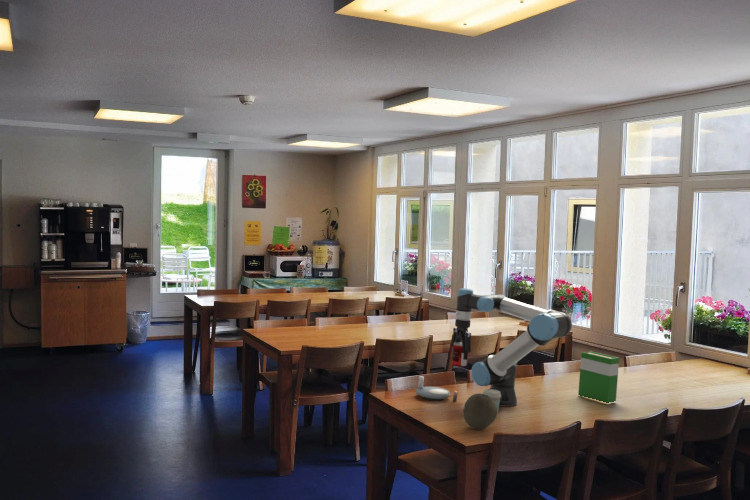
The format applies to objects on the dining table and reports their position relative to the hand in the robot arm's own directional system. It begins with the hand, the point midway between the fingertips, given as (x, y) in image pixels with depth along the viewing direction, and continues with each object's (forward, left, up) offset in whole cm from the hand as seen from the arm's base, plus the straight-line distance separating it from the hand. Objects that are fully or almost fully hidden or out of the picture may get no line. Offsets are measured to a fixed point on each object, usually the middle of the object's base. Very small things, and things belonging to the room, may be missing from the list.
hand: (459, 363), depth 328 cm
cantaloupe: (-36, +33, -18) cm, 52 cm away
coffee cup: (-29, +14, -18) cm, 37 cm away
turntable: (+6, +11, -15) cm, 20 cm away
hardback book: (-45, -61, -18) cm, 78 cm away
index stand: (+3, +11, -17) cm, 21 cm away
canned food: (0, 0, -1) cm, 1 cm away
